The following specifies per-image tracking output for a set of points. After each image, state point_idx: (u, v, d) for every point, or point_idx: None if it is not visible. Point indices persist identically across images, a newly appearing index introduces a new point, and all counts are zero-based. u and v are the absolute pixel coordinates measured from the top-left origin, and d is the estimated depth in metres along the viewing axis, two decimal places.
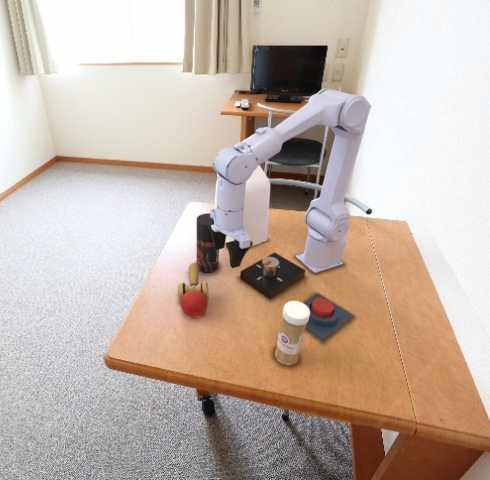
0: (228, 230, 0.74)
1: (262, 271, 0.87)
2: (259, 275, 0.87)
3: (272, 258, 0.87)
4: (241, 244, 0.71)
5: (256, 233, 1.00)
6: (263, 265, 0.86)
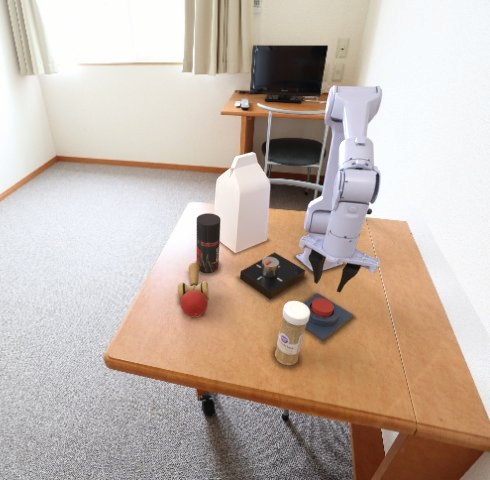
0: (349, 257, 0.66)
1: (262, 271, 0.87)
2: (259, 275, 0.87)
3: (272, 258, 0.87)
4: (374, 268, 0.64)
5: (256, 233, 1.00)
6: (263, 265, 0.86)
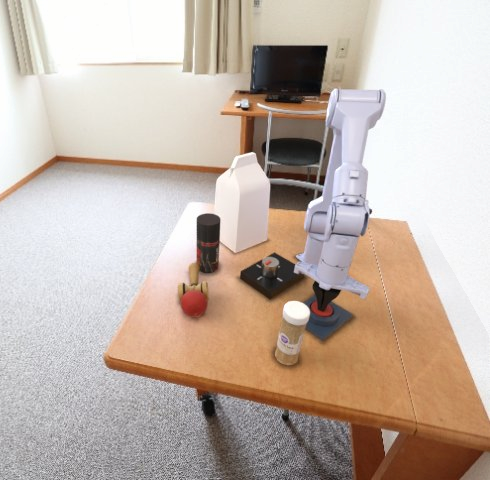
0: (341, 284, 0.69)
1: (262, 271, 0.87)
2: (259, 275, 0.87)
3: (272, 258, 0.87)
4: (364, 295, 0.68)
5: (256, 233, 1.00)
6: (263, 265, 0.86)
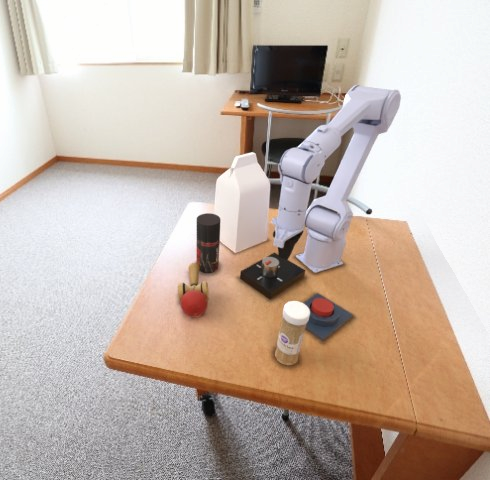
0: (279, 227, 0.75)
1: (262, 271, 0.87)
2: (259, 275, 0.87)
3: (272, 258, 0.87)
4: (274, 241, 0.72)
5: (256, 233, 1.00)
6: (263, 265, 0.86)
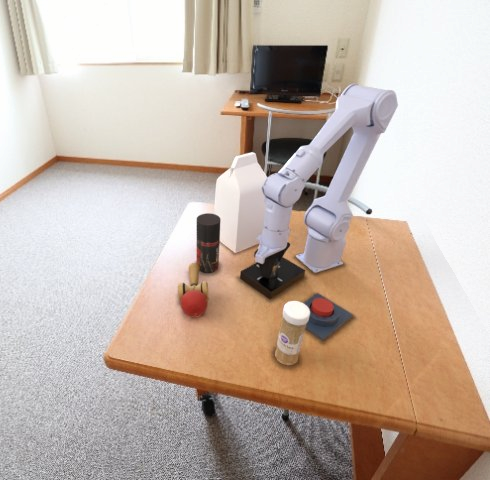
0: (262, 244, 0.82)
1: None
2: (259, 275, 0.87)
3: None
4: None
5: (256, 233, 1.00)
6: None
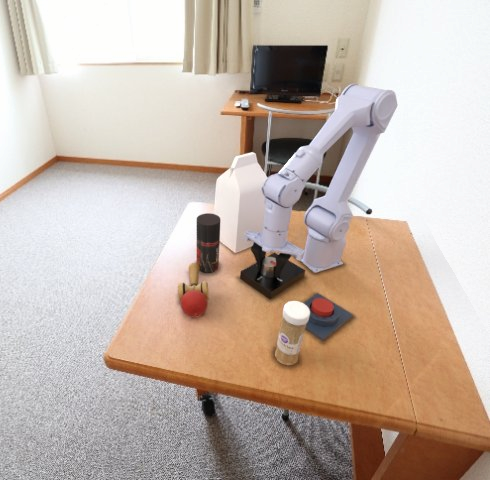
0: (280, 248, 0.80)
1: (273, 274, 0.86)
2: (259, 275, 0.87)
3: (264, 259, 0.87)
4: (299, 257, 0.79)
5: None
6: (275, 268, 0.85)
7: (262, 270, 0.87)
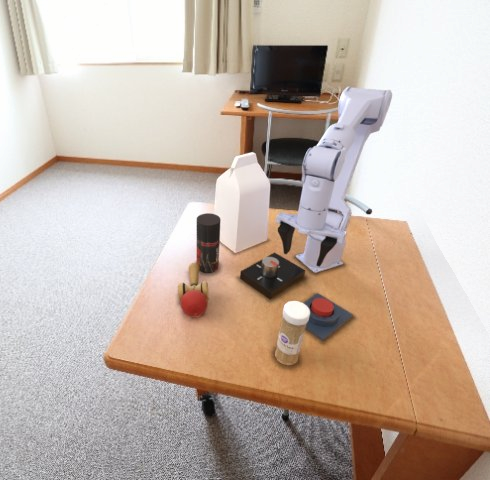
0: (319, 229, 0.72)
1: (273, 274, 0.86)
2: (259, 275, 0.87)
3: (264, 259, 0.87)
4: (341, 239, 0.71)
5: (256, 233, 1.00)
6: (275, 268, 0.85)
7: (262, 270, 0.87)
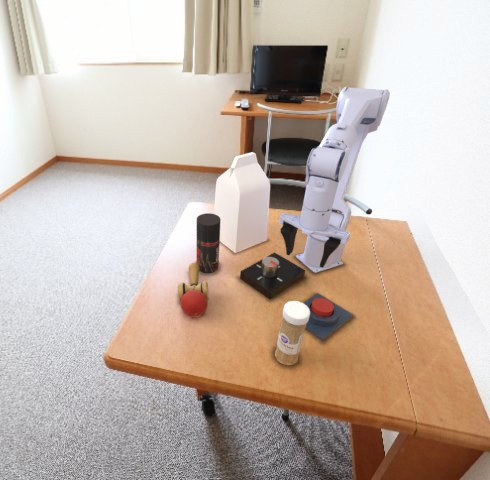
0: (323, 230, 0.72)
1: (273, 274, 0.86)
2: (259, 275, 0.87)
3: (264, 259, 0.87)
4: (345, 240, 0.70)
5: (256, 233, 1.00)
6: (275, 268, 0.85)
7: (262, 270, 0.87)
